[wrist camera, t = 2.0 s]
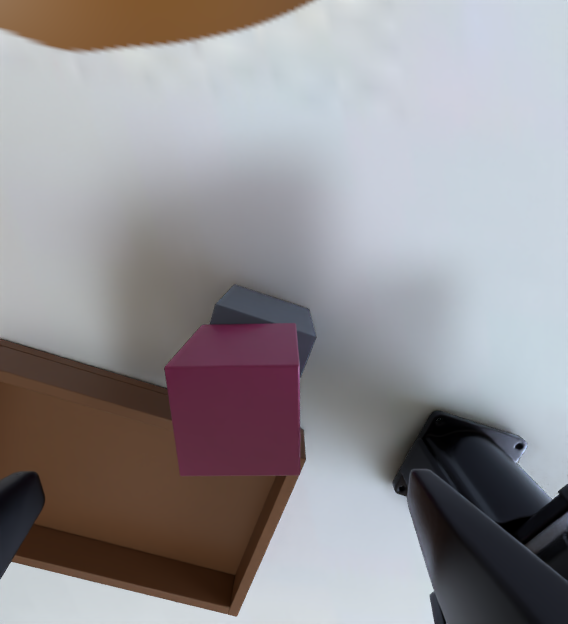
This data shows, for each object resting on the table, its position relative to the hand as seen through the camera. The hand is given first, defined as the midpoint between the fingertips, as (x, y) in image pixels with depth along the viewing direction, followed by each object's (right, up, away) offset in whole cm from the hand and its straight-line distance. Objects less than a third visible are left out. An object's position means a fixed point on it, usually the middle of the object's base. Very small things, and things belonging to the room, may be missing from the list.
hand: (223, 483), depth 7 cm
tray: (-9, -7, +13) cm, 17 cm away
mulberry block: (0, +2, +6) cm, 6 cm away
